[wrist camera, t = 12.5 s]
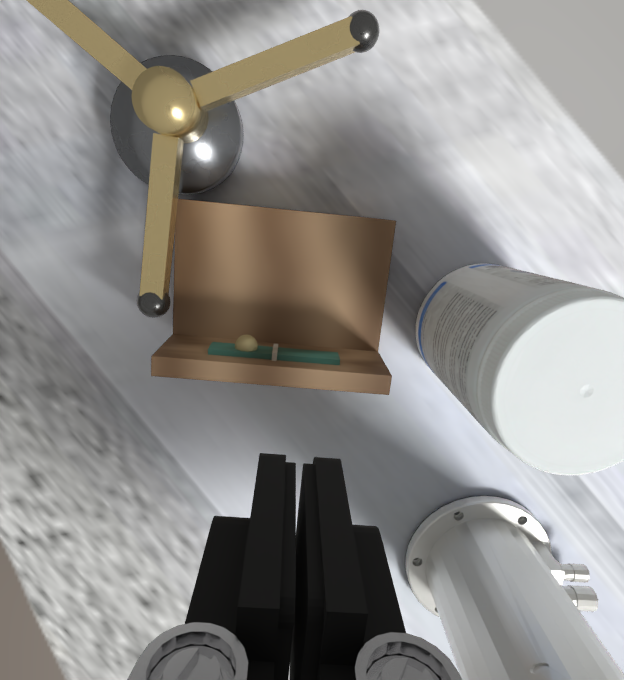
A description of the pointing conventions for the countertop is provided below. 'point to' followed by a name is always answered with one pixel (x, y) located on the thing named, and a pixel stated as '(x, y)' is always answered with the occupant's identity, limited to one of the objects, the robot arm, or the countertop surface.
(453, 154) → the countertop surface
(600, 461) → the supplement tub
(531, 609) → the robot arm
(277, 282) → the level stand
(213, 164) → the tan branched rod piece
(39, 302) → the countertop surface
